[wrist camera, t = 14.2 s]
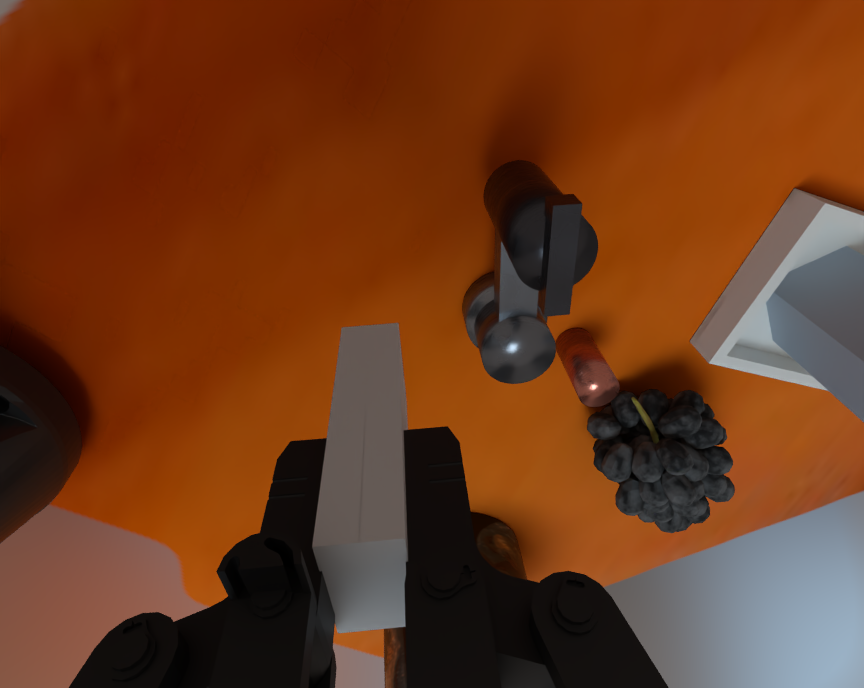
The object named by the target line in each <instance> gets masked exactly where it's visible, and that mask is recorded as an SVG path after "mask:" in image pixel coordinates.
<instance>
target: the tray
mask: <svg viewBox="0 0 864 688" xmlns="http://www.w3.org/2000/svg"><path fill="white" fill-rule="evenodd" d="M845 246H848V247H850V248H851V249H853V250H855V251H857V252H859V253H860V254H862V255H864V211H861V210H858V209H855V208H852V207H849V206H846V205H843V204H840V203H837V202H834V201H831V200H828V199H825V198H822V197H819V196H816V195H813V194H810V193H807V192H804V191H801V190H798V189H795V188H794V189H793V191H792V192H791V194H790V195H789V197H788V198H787V200H786V201H785V203H784V204H783V205H782V207H781V208H780V210H779V211H778V213H777V214H776V216H775V217H774V219H773V220H772V222H771V223H770V224H769V226H768V227H767V229H766V230H765V232H764V233H763V235H762V236H761V238H760V239H759V241H758V242H757V243H756V245H755V246H754V248H753V249H752V251H751V252H750V254H749V255H748V257H747V258H746V260H745V261H744V262H743V264H742V265H741V267H740V268H739V270H738V271H737V273H736V274H735V276H734V277H733V279H732V280H731V281H730V283H729V284H728V286H727V287H726V289H725V290H724V292H723V293H722V295H721V296H720V298H719V299H718V300H717V302H716V303H715V305H714V306H713V308H712V309H711V311H710V312H709V314H708V315H707V317H706V318H705V319H704V321H703V322H702V324H701V325H700V327H699V328H698V330H697V331H696V333H695V334H694V336H693V337H692V338H691V340H690V342H691V344H692V345H693V346H694V347H695V348H696V349H697V350H698V352H699V353H700V354H701V355H702V356H703V357H704V358H705V360H706V361H707V362H708V363H710V364H714V365H718V366H723V367H727V368H732V369H736V370H740V371H745V372H749V373H753V374H758V375H762V376H766V377H771V378H775V379H779V380H784V381H788V382H792V383H797V384H801V385H805V386H810V387H814V388H818V389H823V390H827V389H826V388H825V387H824V386H823V385H822V384H821V383H819V382H818V381H817V380H816V379H815V378H814V377H813V376H812V375H811V374H809V373H808V372H807V371H806V370H805V369H804V368H803V367H802V366H801V365H799V364H798V363H797V362H796V361H795V360H794V359H793V358H792V357H791V356H789V355H788V354H787V353H786V352H785V351H784V350H783V349H782V348H781V347H779V346H778V345H777V344H776V343H775V342H774V341H773V339H772V333H771V328H770V322H769V317H768V311H767V306H766V302H767V301H768V299H769V298H770V297H771V295H772V294H773V292H774V291H775V290H776V288H777V287H778V286H779V284H780V283H781V282H782V280H783V279H784V278H785V276H786V275H787V274H788V272H789V271H792V270H794V269H796V268H798V267H800V266H803V265H805V264H807V263H809V262H812V261H814V260H816V259H818V258H820V257H823V256H825V255H827V254H829V253H832V252H834V251H836V250H838V249H840V248H843V247H845ZM827 391H828V390H827Z"/></svg>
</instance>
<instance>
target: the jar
mask: <svg viewBox="0 0 864 688" xmlns="http://www.w3.org/2000/svg"><path fill="white" fill-rule="evenodd" d="M471 519H472V525H473V531H474V538H475V542H476V545H477V548H478V550H479V552H480V553H481V555H482V557H483V558H484V559H485V560H486V561H487V562H488V563H489V564H490V565H491V566H492V567H494V568H495V569H497V570H498V571H500V572H502V573H504V574H507V575H510V576H513V577H517V578H521V579H525V580H527V577H526V573H525V569H524V565H523V561H522V557H521V553H520V549H519V545H518V542H517V539H516V536H515V534H514V533H513V531H512V530H511V529H510V528H509V527H508V526H507V525H506V524H504V523H503V522H501V521H499V520H497V519H495V518H492V517H489V516H486V515H482V514H477V513H471ZM384 666H385V668H384V671H385V688H407V669H406V629H405V627H397V628H387V629H384Z"/></svg>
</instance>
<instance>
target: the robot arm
mask: <svg viewBox="0 0 864 688" xmlns="http://www.w3.org/2000/svg"><path fill="white" fill-rule="evenodd" d="M81 449H82V438H81V432H80V428H79V425H78V422H77V419H76V417H75V415H74V413H73V411H72V409H71V408H70V406H69V404H68V403H67V401H66V400H65V399H64V397H63V396H62V395H61V394H60V392H59V391H58V390H57V389H56V388H55V387H54V386H53V385H52V384H51V383H50V382H49V381H48V380H47V379H46V378H45V377H44V376H43V375H42V374H41V373H40V372H38V371H37V370H36V369H35V368H33V367H32V366H31V365H30V364H28V363H27V362H25V361H24V360H22V359H21V358H20V357H18V356H16V355H15V354H13V353H12V352H10V351H8V350H7V349H5V348H3V347H1V346H0V543H1V542H3V541H4V540H5V539H6V538H8V537H9V536H10V535H11V534H13V533H14V532H15V531H16V530H18V529H19V528H20V527H21V526H22V525H24V524H25V523H26V522H27V521H28V520H30V519H31V518H32V517H33V516H34V515H36V514H37V513H39V512H40V511H41V510H43V509H44V508H45V507H46V506H47V505H49V504H50V503H51V502H52V500H53V499H54V498H55V497H56V496H57V495H58V494H59V492H60V491H61V489H62V488H63V486H64V485H65V483H66V482H67V480H68V478H69V477H70V475H71V474H72V472H73V471H74V469H75V468H76V466H77V464H78V461H79V459H80V455H81ZM272 480H273V483H272V484H271V488H270V492H269V500H268V501H267V505H266V509H265V513H264V518H263V522H262V526H261V531H260V533H258V534H254V535H251V536H249V537H247V538H246V539H244V540H242V541H240V542H239V543H237V544H236V545H235V546H234V547H233V548H232V549H231V550H230V551H229V552H228V553H227V554H226V555H225V556H224V557H223V559H222V561H221V563H220V566H219V568H218V570H217V574H218V576H219V578H220V580H221V582H222V584H223V586H224V588H225V590H226V592H227V594H228V597H227V598H225V599H224V600H223V601H221V602H219V603H217V604H215V605H213V606H211V607H209V608H207V609H204V610H202V611H199V612H197V613H195V614H192V615H190V616H187V617H185V618H182V619H180V620H178V621H175V622H173V620H172V619H171V617H168V616H166V615H164V614H161V613H159V612H155V613H142V614H139V615H137V616H134V617H132V618H130V619H127V620H125V621H123V622H122V623H121V624H119V625H118V626H116V627H115V628H114V629H113V630H111V631H110V632H108V634H107V635H106V636H105V637H104V638H103V639H102V641H101V642H100V643H99V644H98V645H97V646H96V648H95V649H94V650H93V652H92V653H91V655H90V656H89V658H88V659H87V661H86V663H85V664H84V665H83V667H82V668H81V670H80V671H79V673H78V674H77V676H76V678H75V679H74V680H73V682H72V683H71V685H70V687H69V688H335V678H336V661H335V654H334V651H333V636H334V624H336V628H337V631H338V633H346V632H356V631H366V630H377V629H387V628H397V627H405V629H406V669H407V688H668V686H667V684H666V683H665V681H664V680H663V678H662V676H661V675H660V673H659V672H658V670H657V669H656V667H655V665H654V664H653V662H652V661H651V659H650V658H649V656H648V654H647V653H646V651H645V649H644V648H643V646H642V645H641V643H640V642H639V640H638V639H637V637H636V635H635V634H634V632H633V631H632V629H631V628H630V626H629V624H628V623H627V621H626V620H625V618H624V616H623V615H622V613H621V611H620V610H619V608H618V607H617V605H616V604H615V602H614V600H613V599H612V597H611V596H610V595H609V594H608V592H606V590H605V589H604V588H603V587H602V586H601V585H600V583H598V582H596V581H595V580H593V579H591V578H590V577H588V576H586V575H584V574H580V573H575V572H571V571H565V572H558V573H553V574H551V575H549V576H548V577H546V578H544V579H543V580H541V581H540V583H538V582H534V581H530V580H525V579H521V578H517V577H513V576H510V575H507V574H504V573H502V572H500V571H498V570H497V569H495V568H494V567H492V566H491V565H490V564H489V563H488V562H487V561H486V560H485V559H484V558H483V557H482V555H481V553H480V552H479V550H478V548H477V545H476V542H475V538H474V531H473V525H472V519H471V512H470V506H469V500H468V493H467V487H466V481H465V474H464V468H463V462H462V455H461V449H460V443H459V441H458V440H457V438H456V437H455V436H454V434H453V433H452V432H451V430H450V429H449V428H448V426H447V427H435V428H424V429H412V430H408V424H407V402H406V392H405V382H404V372H403V363H402V353H401V343H400V334H399V324H398V323H392V324H379V325H367V326H355V327H342V330H341V338H340V345H339V352H338V360H337V367H336V375H335V382H334V389H333V397H332V404H331V411H330V419H329V426H328V434H327V438H324V439H312V440H301V441H291V442H290V443H289V444H288V446H287V447H286V448H285V450H284V451H283V452H282V454H281V455H280V456H279V458H278V459H277V462H276V467H275V471H274V475H273V479H272Z"/></svg>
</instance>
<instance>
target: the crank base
mask: <svg viewBox="0 0 864 688" xmlns="http://www.w3.org/2000/svg"><path fill="white" fill-rule="evenodd" d="M492 300H494V272H491V273H488V274H486V275H484V276H482V277H481V278H479V279H478V280H476V281H475V282H474V283H473V284H472V285H471V286H470V288H469V289H468V291H467V292H466V294H465V296H464V300H463V305H462V311H463V316H464V320H465V324H466V328H467V332H468V335H469V337H470V339H471V341H472V342H473V344H474V345H475V346H476V347H478V343H477V339H476V336H475V332H474V324H475V320H476V317H477V315H478V313H479V312H480V310H481V309H482V308H483V307H484V306H485V305H486V304H487V303H489V302H490V301H492ZM537 306H538V308H539V310H540V312H541V309H540V307H539V305H538V304H537ZM541 314H542V312H541ZM542 316H543V314H542ZM543 318H544V320H545V322H546V323H547V316H543ZM478 348H479V347H478ZM556 351H557V353H558V355H559V357H560V359H561V361H562V364H563V366H564V368H565V370H566V372H567V374H568V376H569V378H570V380H571V382H572V384H573V386H574V388H575V390H576V393H577V395H578V397H579V399H580V401H581V402H582V403H583V404H585V405H587V406H590V407H599V406H603V405H605V404H608V403H609V402H611V401H612V400H613V399H614V398H615V397H616V396H617V394H618V392H619V389H620V385H619V382H618V380H617V379H616V377H615V375H614V374H613V372H612V370H611V369H610V367H609V365H608V364H607V362H606V360H605V359H604V357H603V355H602V354H601V352H600V350H599V349H598V347H597V345H596V344H595V342H594V340H593V339H592V337H591V336H590V334H589V333H588V332H587V331H586V330H584V329H582V328H572V329H569V330H567V331H565V332H563V333H562V334H561V335H560V336H559V337H558V339H557V341H556Z"/></svg>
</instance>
